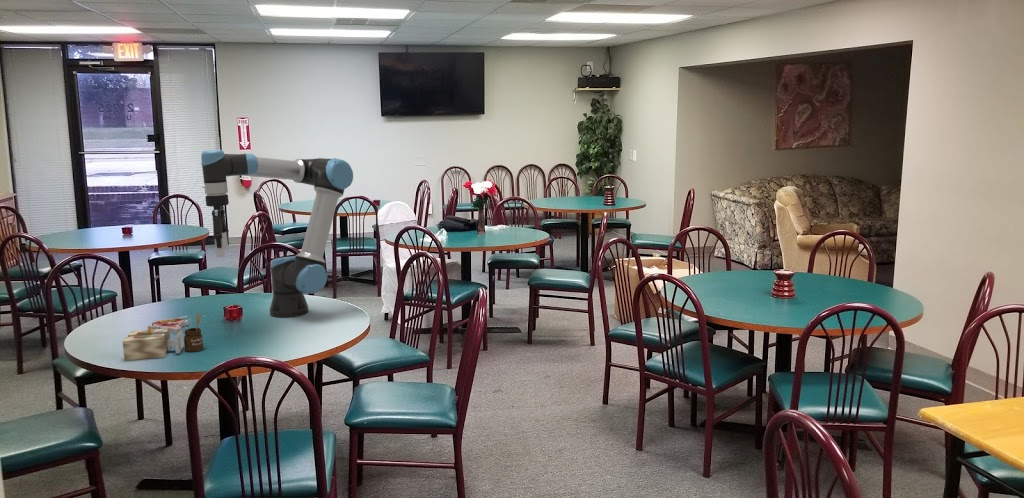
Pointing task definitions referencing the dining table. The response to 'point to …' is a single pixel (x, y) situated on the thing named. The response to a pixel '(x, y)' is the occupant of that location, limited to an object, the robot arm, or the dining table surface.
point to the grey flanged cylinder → (173, 341)
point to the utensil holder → (193, 338)
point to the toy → (170, 324)
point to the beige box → (146, 344)
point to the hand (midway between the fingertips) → (222, 253)
